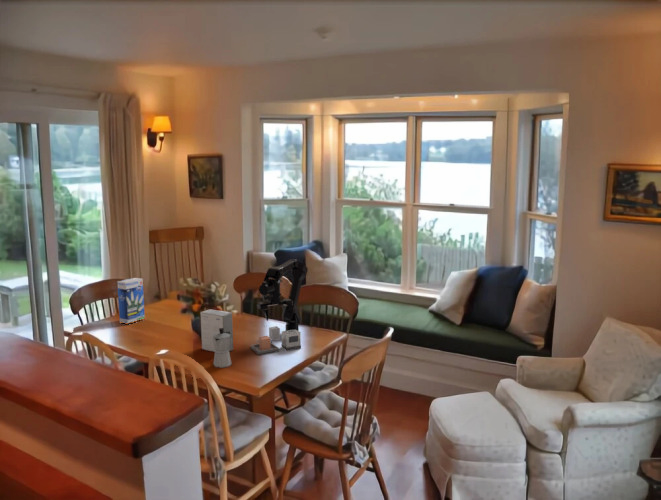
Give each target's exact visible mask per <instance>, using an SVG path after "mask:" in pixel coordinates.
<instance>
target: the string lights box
mask: <svg viewBox="0 0 661 500" xmlns="http://www.w3.org/2000/svg"><path fill="white" fill-rule="evenodd" d="M143 279H144V278H139V277H133V278H126V279H123V280H117V283H116V284H117V296H118V297H117V298H118V312H119V313H118V316H119V317H118V318H119V323H120V322H123V323H130V322H134V321H137V320H141V319H144V318H145V319H146V315H145V314H146V313H145V296H144V284H143V283H144V282H143V281H144V280H143Z"/></svg>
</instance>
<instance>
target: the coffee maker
mask: <svg viewBox="0 0 661 500" xmlns="http://www.w3.org/2000/svg"><path fill="white" fill-rule="evenodd" d="M223 330H224V328H219V332H220V333H218V334H215V335H213V343H214V349H215V350H216V351H215V352H214V357H213V367H215V368H218V367H219V369H220V368H221V369H222V368H223V369H224V368H229V367H230V366H231V365H232V360H231V354H230V351H229V350H228V349H229V343H230V337H231V334H230V332H228V331H227V332H225V331H224V332H223Z"/></svg>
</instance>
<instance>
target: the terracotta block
mask: <svg viewBox="0 0 661 500" xmlns="http://www.w3.org/2000/svg"><path fill="white" fill-rule="evenodd" d="M271 342H272V340H271V339H270V338H269V335H264V336H263V335H262V336H259V337H258V344H259V348H260V349H261V350H267V349H271Z"/></svg>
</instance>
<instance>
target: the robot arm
mask: <svg viewBox="0 0 661 500" xmlns="http://www.w3.org/2000/svg"><path fill="white" fill-rule="evenodd" d="M290 270H291V276H292V284H291V289H290V293H289V298H283V299H282V300H281V296H282V293H281V282H283V280H282V279H281V278H282V277H283V276H284V274H285V273H287V272H288V271H290ZM308 271H309V270H308V267H307V265H306V264H303V263H302V262H300V261H299V260H298V259H295V258H294V259H292V258H290V259H288V260H286V261H285V262H284V263H282V264H279V266H278V265H277V266H272V267H269V268H268V269H267V270H266V273H265V276H264V279H263V282H262V283H261V285H260V286H259V288H258V291H259V295H260V294H261V295H262V301H259V302H257V304H256V308H257V309H259V310H261V311H262V312H263V314H264V316H265V320H266V321H267V322H268V321H269V309H268V307H269V308H270V307H274V306H275V307H276V306H281V307H282V312H281V313H282V314H281V318H282V319H283V322H284V323H286V324H285V331H288V330H294V329H296V330H298V331H299V330H300V329H299V326H300V325H299V324H300V323H302V317H301V316H300V314H299V308H298V302H299V297H300V292H301V287H302V283H303V280H304V279H305V278H306V277H307V275H308ZM299 332H300V331H299Z"/></svg>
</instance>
